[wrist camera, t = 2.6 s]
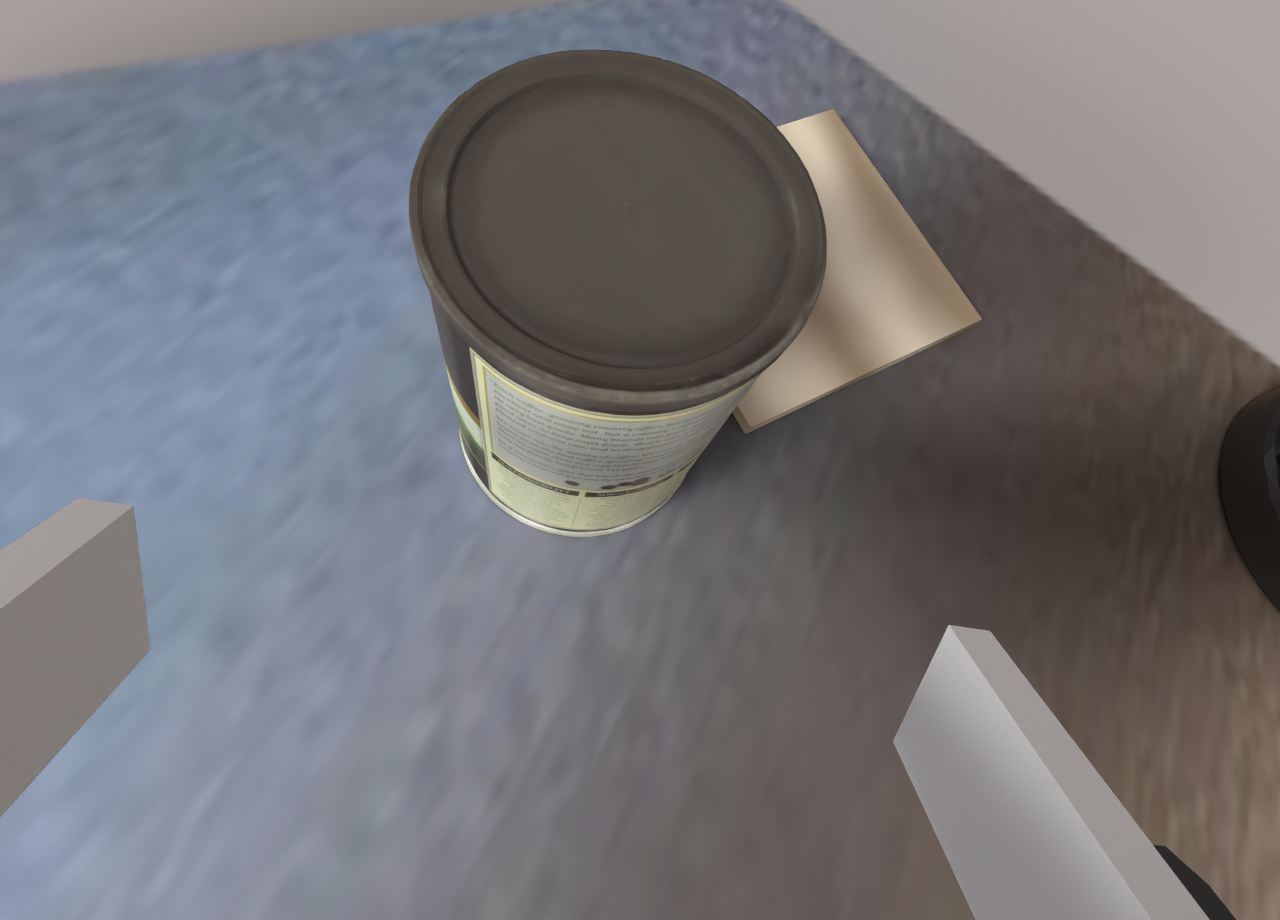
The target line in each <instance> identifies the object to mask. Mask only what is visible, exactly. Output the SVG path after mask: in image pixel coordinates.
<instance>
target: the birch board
mask: <svg viewBox="0 0 1280 920" xmlns="http://www.w3.org/2000/svg"><path fill="white" fill-rule="evenodd" d="M777 128H778V130H779V131H780V132H781V133H782V134H783V135H784V136H785V137H786V139H787V140H788V141H789V143H790V144H791V146H792V147H793V148H794V150H795V151H796V152H797V154H798V155H799V157H800V159H801V160H802V162H803V164H804V165H805V167H806V169H807V170H808V172H809V175H810V177H811V179H812V182H813V184H814V187H815V190H816V192H817V195H818V198H819V202H820V204H821V207H822V211H823V217H824V221H825V226H826V238H827V256H826V270H825V275H824V280H823V284H822V288H821V291H820V294H819V297H818V300H817V302H816V304H815V307H814V309H813V310H812V312H811V314H810V316H809V318H808V320H807V322H806V324H805V326H804V327H803V329H802V330H801V332H800V333H799V334H798V336H797V337H796V338H795V339H794V341H793V342H792V343H791V344H790V345H789V346H788V348H787V349H786V350H785V351H784V352H783V353H782V354H781V356H780V357H779V358H778V359H777V360H776V361H775V362H774V363H773V364H771V365H770V366H769V367H768V368H767V369H766V370H764V371H763V372H762V373H761V374H760V376H759V377H758V378H757V380H756V381H755V383H754V384H753V385H752V387H751V388H750V389H749V391H748V392H747V394H746V395H745V396H744V398H743V399H742V400H741V401H740V403H739V404H738V405H737V407H736V408H735V409H734V411H733V412H732V413H733V415H734V416H735V418H736V420H737V422H738V423H739V425H740V427H741V428H742V430H743V432H744V433H745V434H747V433H749V432H751V431H753V430H755V429H757V428H759V427H762V426H764V425H766V424H768V423H770V422H772V421H774V420H776V419H779V418H781V417H783V416H785V415H787V414H789V413H791V412H793V411H796V410H798V409H800V408H802V407H804V406H806V405H808V404H810V403H813V402H815V401H817V400H819V399H821V398H823V397H825V396H828V395H830V394H832V393H834V392H836V391H838V390H840V389H842V388H845V387H847V386H849V385H851V384H853V383H855V382H857V381H859V380H862V379H864V378H866V377H868V376H870V375H872V374H874V373H876V372H879V371H881V370H883V369H885V368H887V367H889V366H891V365H893V364H896V363H898V362H900V361H902V360H904V359H906V358H908V357H910V356H913V355H915V354H917V353H919V352H921V351H923V350H925V349H928V348H930V347H932V346H934V345H936V344H938V343H940V342H942V341H945V340H947V339H949V338H951V337H953V336H955V335H957V334H959V333H962V332H964V331H966V330H968V329H970V328H972V327H974V326H975V325H976V324H977V323H978V322H980V321H981V320H982V318H981V317H980V315H979V314H978V312H977V311H976V310H975V308H974V307H973V305H972V304H971V302H970V301H969V300H968V298H967V297H966V295H965V294H964V293H963V291H962V290H961V288H960V287H959V286H958V284H957V283H956V281H955V280H954V278H953V277H952V276H951V274H950V273H949V271H948V270H947V269H946V267H945V266H944V264H943V263H942V262H941V260H940V259H939V257H938V256H937V254H936V253H935V252H934V250H933V249H932V247H931V246H930V245H929V243H928V242H927V240H926V239H925V238H924V236H923V235H922V233H921V232H920V230H919V229H918V228H917V226H916V225H915V223H914V222H913V221H912V219H911V218H910V216H909V215H908V214H907V212H906V211H905V209H904V208H903V206H902V205H901V204H900V202H899V201H898V199H897V198H896V197H895V195H894V194H893V192H892V191H891V190H890V188H889V187H888V185H887V184H886V182H885V181H884V180H883V178H882V177H881V175H880V174H879V173H878V171H877V170H876V168H875V167H874V166H873V164H872V163H871V161H870V160H869V158H868V157H867V156H866V154H865V153H864V151H863V150H862V149H861V147H860V146H859V144H858V143H857V142H856V140H855V139H854V137H853V136H852V134H851V133H850V132H849V130H848V129H847V127H846V126H845V125H844V123H843V122H842V120H841V119H840V118H839V116H838V115H837V113H836V112H835V110H834V109H832V110H829V111H826V112H822V113H819V114H816V115H813V116H810V117H807V118H804V119H800V120H797V121H794V122H791V123H788V124H785V125H782V126H778V127H777Z"/></svg>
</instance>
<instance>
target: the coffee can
mask: <svg viewBox="0 0 1280 920" xmlns="http://www.w3.org/2000/svg"><path fill="white" fill-rule="evenodd" d="M409 220H410V229H411V234H412V239H413V243H414V247H415V252H416V256H417V260H418V264H419V266H420V269H421V272H422V275H423V278H424V280H425V283H426V285H427V287H428V289H429V291H430V295H431V299H432V304H433V309H434V314H435V318H436V322H437V327H438V332H439V336H440V341H441V345H442V350H443V355H444V359H445V363H446V368H447V372H448V377H449V382H450V386H451V391H452V396H453V400H454V405H455V410H456V414H457V420H458V424H459V434H460V440H461V446H462V449H463V453H464V456H465V458H466V461H467V464H468V466H469V468H470V470H471V472H472V474H473V476H474V477H475V479H476V481H477V482H478V484H479V485H480V486H481V488H482V489H483V491H484V492H485V493H486V494H487V495H488V496H489V498H490V499H491V500H492V501H493V502H494V503H495V504H496V505H497V506H499V507H500V508H501V509H503V510H504V511H505V512H507V513H508V514H509V515H511V516H513V517H514V518H516V519H517V520H519V521H521V522H523V523H525V524H527V525H529V526H531V527H534V528H536V529H539V530H542V531H546V532H549V533H553V534H558V535H564V536H571V537H592V536H598V535H606V534H611V533H614V532H618V531H621V530H624V529H626V528H630V527H632V526H633V525H635V524H637V523H639V522H641V521H643V520H644V519H646V518H648V517H649V516H651V515H652V514H653V513H655V512H656V511H657V510H658V509H660V508H661V507H662V506H663V505H664V504H666V503H667V502H668V501H669V500H670V498H671V497H672V496H673V494H674V493H675V491H676V490H677V489H678V488H679V487H680V485H681V483H682V481H683V480H684V478H685V476H686V474H687V472H688V471H689V469H690V468H691V467H692V465H693V464H694V463H695V461H696V460H697V459H698V457H699V456H700V455H701V453H702V452H703V451H704V449H705V448H706V447H707V446H708V444H709V443H710V442H711V440H712V439H713V438H714V436H715V435H716V434H717V432H718V431H719V429H720V428H721V427H722V425H723V424H724V423H725V421H726V420H727V419H728V417H729V416H730V415H731V413H732V412H733V411H734V409H735V408H736V407H737V405H738V404H739V403H740V401H741V400H742V399H743V398H744V396H745V395H746V394H747V392H748V391H749V389H750V388H751V387H752V385H753V384H754V383H755V381H756V380H757V378H758V377H759V376H760V374H761V373H762V372H763V371H764V370H766V369H767V368H768V367H769V366H770V365H771V364H773V363H774V362H775V361H776V360H777V359H778V358H779V357H780V356H781V354H782V353H783V352H784V351H785V350H786V349H787V348H788V346H789V345H790V344H791V343H792V342H793V341H794V339H795V338H796V337H797V336H798V334H799V333H800V332H801V330H802V329H803V327H804V326H805V324H806V322H807V320H808V318H809V316H810V314H811V312H812V310H813V309H814V307H815V304H816V302H817V300H818V297H819V294H820V291H821V288H822V284H823V280H824V275H825V270H826V256H827V238H826V226H825V221H824V217H823V211H822V207H821V204H820V202H819V198H818V195H817V192H816V190H815V187H814V184H813V182H812V179H811V177H810V175H809V172H808V170H807V169H806V167H805V165H804V164H803V162H802V160H801V159H800V157H799V155H798V154H797V152H796V151H795V150H794V148H793V147H792V146H791V144H790V143H789V141H788V140H787V139H786V137H785V136H784V135H783V134H782V133H781V132H780V131H779V130H778V128H777V127H776V126H775V125H774V124H773V123H772V122H771V121H770V120H769V119H768V118H767V117H766V116H765V115H763V114H762V113H761V112H760V111H759V110H758V109H756V108H755V107H754V106H753V105H751V104H750V103H749V102H747V101H746V100H745V99H743V98H742V97H741V96H739V95H738V94H736V93H735V92H734V91H732V90H730V89H729V88H727V87H726V86H724V85H722V84H721V83H719V82H717V81H715V80H714V79H712V78H710V77H708V76H706V75H704V74H702V73H700V72H698V71H695V70H693V69H690V68H688V67H686V66H683V65H680V64H677V63H674V62H671V61H668V60H663V59H661V58H658V57H651V56H646V55H642V54H637V53H632V52H622V51H611V50H570V51H561V52H554V53H550V54H545V55H539V56H536V57H533V58H529V59H526V60H523V61H520V62H517V63H515V64H512V65H510V66H507V67H504V68H503V69H501V70H499V71H497V72H495V73H493V74H491V75H489V76H488V77H486V78H484V79H482V80H481V81H479V82H477V83H476V84H474V85H473V86H472V87H471V88H470V89H469V90H467V91H466V92H464V93H463V94H462V95H460V96H459V97H458V98H457V99H456V100H455V101H454V102H453V103H452V104H451V105H450V106H449V107H448V108H447V109H446V110H445V112H444V113H443V114H442V115H441V116H440V118H439V119H438V120H437V121H436V123H435V124H434V126H433V127H432V128H431V130H430V132H429V134H428V135H427V137H426V139H425V141H424V143H423V145H422V147H421V150H420V152H419V155H418V158H417V161H416V164H415V167H414V170H413V174H412V178H411V182H410V193H409Z"/></svg>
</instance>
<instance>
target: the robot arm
mask: <svg viewBox="0 0 1280 920" xmlns="http://www.w3.org/2000/svg"><path fill="white" fill-rule="evenodd" d="M1220 482H1221V492H1222V498H1223V504H1224V508H1225V512H1226V516H1227V519H1228V523H1229V526H1230V529H1231V531H1232V534H1233V537H1234V539H1235V541H1236V544H1237V546H1238V548H1239V550H1240V552H1241V554H1242V557H1243V559H1244V560H1245V562H1246V564H1247V566H1248V568H1249V569H1250V571H1251V573H1252V574H1253V576H1254V577H1255V579H1256V581H1257V582H1258V584H1259V585H1260V586H1261V588H1262V589H1263V591H1264V592H1265V593H1266V595H1267V596H1268V597H1269V599H1270V600H1271V601H1272V602H1273V604H1274V605H1275V606H1276V607H1277V608H1278V609H1279V611H1280V388H1277V389H1275V390H1273V391H1270V392H1268V393H1265V394H1263V395H1261V396H1259V397H1257V398H1256V399H1254V400H1253V401H1251V402H1250V403H1249V404H1248V405H1246V406H1245V407H1244V408H1243V409H1242V410H1241V411H1240V412H1239V414H1238V415H1237V416H1236V418H1235V419H1234V421H1233V423H1232V424H1231V426H1230V428H1229V430H1228V433H1227V435H1226V438H1225V441H1224V445H1223V449H1222V455H1221V464H1220ZM149 651H150V641H149V632H148V624H147V615H146V607H145V598H144V590H143V582H142V573H141V565H140V556H139V548H138V539H137V531H136V522H135V514H134V506H132V505H125V504H118V503H111V502H105V501H98V500H91V499H84V498H77V499H76V500H74V501H73V502H71V503H70V504H68V505H67V506H66V507H64V508H63V509H61V510H60V511H58V512H57V513H55V514H54V515H52V516H51V517H49V518H48V519H46V520H45V521H44V522H42V523H41V524H39V525H38V526H36V527H35V528H33V529H32V530H30V531H29V532H27V533H26V534H24V535H23V536H22V537H20V538H19V539H17V540H16V541H14V542H13V543H11V544H10V545H8V546H7V547H5V548H4V549H2V550H1V551H0V817H1V816H2V815H3V814H4V813H5V811H6V810H7V809H8V808H9V807H10V806H11V805H12V804H13V802H14V801H15V800H16V799H17V798H18V797H19V796H20V795H21V794H22V792H23V791H24V790H25V789H26V788H27V787H28V786H29V785H30V783H31V782H32V781H33V780H34V779H35V778H36V777H37V776H38V775H39V773H40V772H41V771H42V770H43V769H44V768H45V767H46V766H47V765H48V763H49V762H50V761H51V760H52V759H53V758H54V757H55V756H56V754H57V753H58V752H59V751H60V750H61V749H62V748H63V747H64V746H65V744H66V743H67V742H68V741H69V740H70V739H71V738H72V737H73V735H74V734H75V733H76V732H77V731H78V730H79V729H80V728H81V727H82V725H83V724H84V723H85V722H86V721H87V720H88V719H89V718H90V716H91V715H92V714H93V713H94V712H95V711H96V710H97V709H98V708H99V706H100V705H101V704H102V703H103V702H104V701H105V700H106V699H107V697H108V696H109V695H110V694H111V693H112V692H113V691H114V690H115V689H116V687H117V686H118V685H119V684H120V683H121V682H122V681H123V680H124V678H125V677H126V676H127V675H128V674H129V673H130V672H131V671H132V670H133V668H134V667H135V666H136V665H137V664H138V663H139V662H140V661H141V660H142V658H143V657H144V656H145V655H146V654H147V653H148V652H149ZM893 742H894V745H895V747H896V749H897V751H898V753H899V755H900V758H901V760H902V762H903V764H904V766H905V768H906V771H907V773H908V775H909V777H910V779H911V781H912V784H913V786H914V788H915V790H916V792H917V794H918V796H919V799H920V801H921V803H922V805H923V807H924V809H925V812H926V814H927V816H928V818H929V820H930V822H931V825H932V827H933V829H934V831H935V833H936V835H937V838H938V840H939V842H940V844H941V846H942V848H943V850H944V853H945V855H946V857H947V859H948V861H949V863H950V866H951V868H952V870H953V872H954V874H955V876H956V879H957V881H958V883H959V885H960V887H961V889H962V892H963V894H964V896H965V898H966V900H967V902H968V904H969V907H970V909H971V911H972V913H973V915H974V917H975V920H1236V919H1235V918H1234V916H1233V915H1232V914H1231V913H1230V911H1229V910H1228V909H1227V908H1226V906H1225V905H1224V904H1223V903H1222V901H1221V900H1220V899H1219V898H1218V896H1217V895H1216V894H1215V893H1214V891H1213V890H1212V889H1211V888H1210V886H1209V885H1208V884H1207V883H1206V882H1204V881H1203V880H1202V879H1201V878H1200V877H1199V876H1198V875H1197V874H1196V873H1194V872H1193V871H1192V870H1191V869H1190V868H1189V867H1188V866H1187V865H1186V864H1184V863H1183V862H1182V861H1181V860H1180V859H1179V858H1178V857H1177V856H1176V855H1174V854H1173V853H1172V852H1171V851H1170V850H1169V849H1168V848H1167V847H1166V846H1157V845H1152V843H1151V842H1150V841H1149V839H1148V838H1147V837H1146V835H1145V834H1144V833H1143V831H1142V830H1141V829H1140V827H1139V826H1138V825H1137V824H1136V822H1135V821H1134V820H1133V818H1132V817H1131V816H1130V814H1129V813H1128V812H1127V810H1126V809H1125V808H1124V806H1123V805H1122V804H1121V803H1120V801H1119V800H1118V799H1117V797H1116V796H1115V795H1114V793H1113V792H1112V791H1111V789H1110V788H1109V787H1108V785H1107V784H1106V783H1105V782H1104V780H1103V779H1102V778H1101V776H1100V775H1099V774H1098V772H1097V771H1096V770H1095V768H1094V767H1093V766H1092V764H1091V763H1090V762H1089V760H1088V759H1087V758H1086V757H1085V755H1084V754H1083V753H1082V751H1081V750H1080V749H1079V747H1078V746H1077V745H1076V743H1075V742H1074V741H1073V739H1072V738H1071V737H1070V736H1069V734H1068V733H1067V732H1066V730H1065V729H1064V728H1063V726H1062V725H1061V724H1060V722H1059V721H1058V720H1057V718H1056V717H1055V716H1054V714H1053V713H1052V712H1051V711H1050V709H1049V708H1048V707H1047V705H1046V704H1045V703H1044V701H1043V700H1042V699H1041V697H1040V696H1039V695H1038V693H1037V692H1036V691H1035V690H1034V688H1033V687H1032V686H1031V684H1030V683H1029V682H1028V680H1027V679H1026V678H1025V676H1024V675H1023V674H1022V672H1021V671H1020V670H1019V669H1018V667H1017V666H1016V665H1015V663H1014V662H1013V661H1012V659H1011V658H1010V657H1009V655H1008V654H1007V653H1006V651H1005V650H1004V649H1003V647H1002V646H1001V645H1000V644H999V642H998V641H997V640H996V638H995V637H994V636H993V634H992V633H991V632H990V631H987V630H980V629H973V628H966V627H960V626H953V625H948V628H947V630H946V632H945V634H944V636H943V638H942V640H941V642H940V644H939V646H938V648H937V650H936V653H935V655H934V657H933V659H932V661H931V663H930V665H929V667H928V669H927V671H926V673H925V676H924V678H923V680H922V682H921V684H920V686H919V688H918V690H917V692H916V694H915V696H914V698H913V701H912V703H911V705H910V707H909V709H908V711H907V713H906V715H905V717H904V719H903V721H902V724H901V726H900V728H899V730H898V732H897V734H896V736H895V738H894V740H893Z"/></svg>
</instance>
